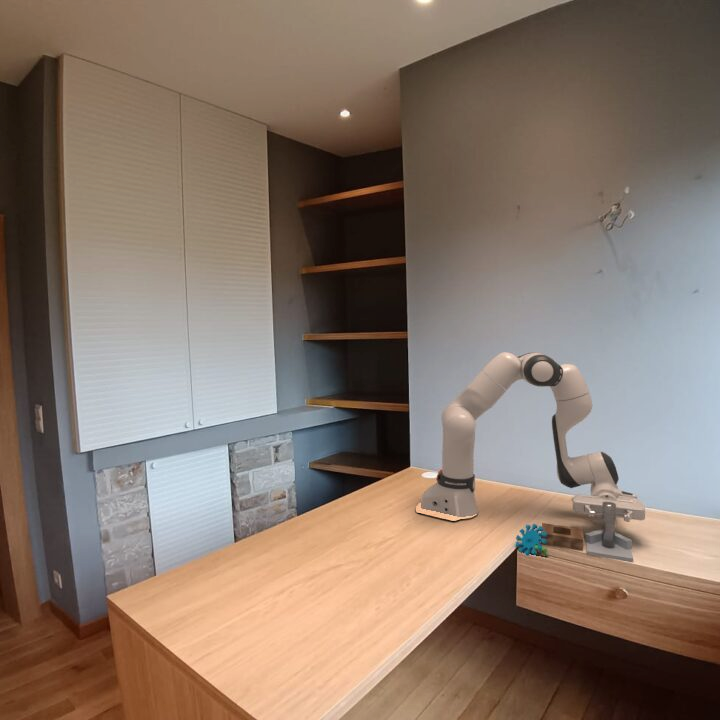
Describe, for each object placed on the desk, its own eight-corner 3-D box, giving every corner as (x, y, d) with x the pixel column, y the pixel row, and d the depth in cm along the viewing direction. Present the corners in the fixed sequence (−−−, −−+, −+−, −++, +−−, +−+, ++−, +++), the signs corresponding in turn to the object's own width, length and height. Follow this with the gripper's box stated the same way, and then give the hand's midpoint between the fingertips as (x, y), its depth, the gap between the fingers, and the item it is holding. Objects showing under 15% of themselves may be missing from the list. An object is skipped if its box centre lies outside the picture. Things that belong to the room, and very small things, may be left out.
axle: (601, 547, 145) (602, 505, 143) (601, 541, 148) (602, 501, 147) (615, 549, 143) (616, 507, 142) (614, 543, 146) (615, 502, 145)
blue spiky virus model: (508, 540, 149) (530, 516, 149) (518, 550, 151) (540, 526, 151) (530, 562, 138) (553, 536, 139) (541, 572, 141) (564, 547, 141)
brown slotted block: (540, 543, 149) (540, 533, 149) (542, 533, 157) (542, 522, 156) (583, 550, 145) (583, 539, 144) (582, 539, 152) (582, 528, 152)
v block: (585, 554, 143) (585, 542, 142) (584, 536, 153) (584, 526, 153) (634, 562, 137) (635, 550, 137) (630, 543, 148) (630, 532, 148)
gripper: (571, 487, 161) (571, 502, 148) (641, 495, 153) (648, 511, 140) (571, 505, 162) (571, 521, 149) (641, 514, 153) (647, 532, 141)
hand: (609, 516), depth 144 cm, fingers open, 8 cm apart
